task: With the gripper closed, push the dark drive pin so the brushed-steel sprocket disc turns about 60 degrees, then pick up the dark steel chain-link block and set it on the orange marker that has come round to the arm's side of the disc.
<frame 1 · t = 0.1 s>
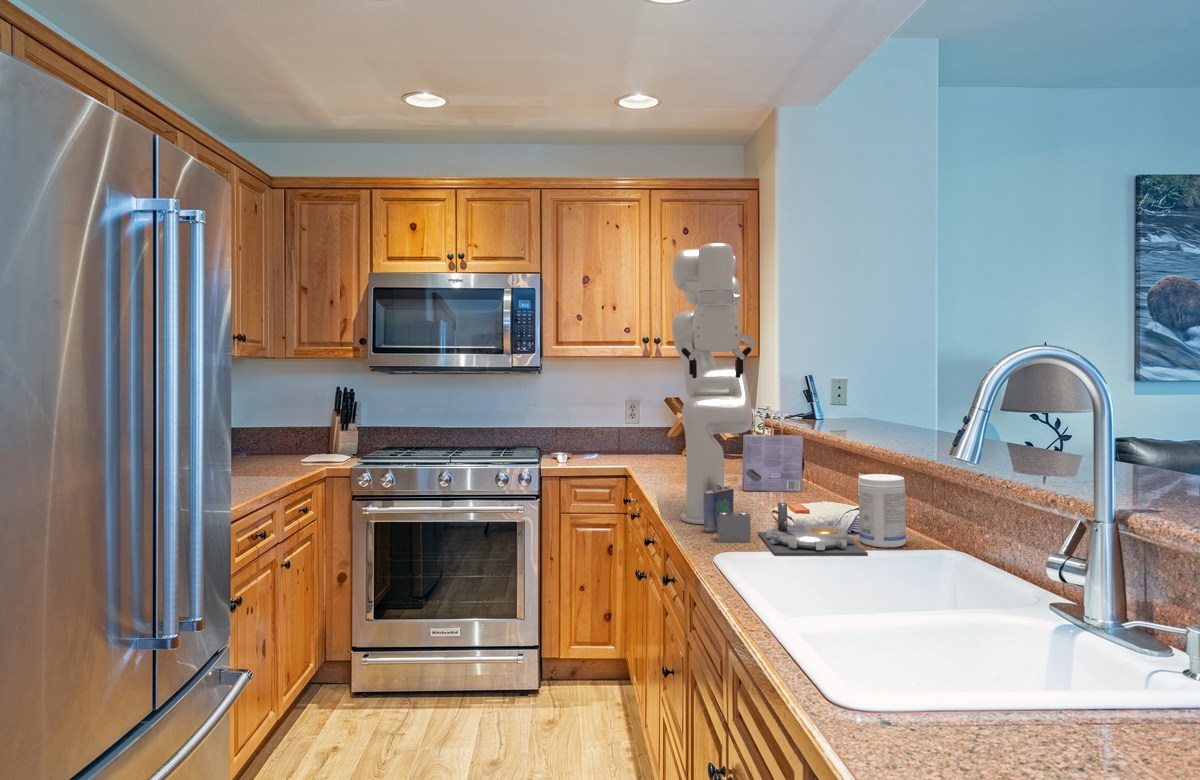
hand: (716, 377, 162), 37 cm above the counter, fingers open, 9 cm apart
cake pan box: (773, 491, 230), on the counter
flask: (718, 530, 176), on the counter
supplement tub: (882, 544, 161), on the counter
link: (733, 540, 165), on the counter
base mat: (809, 544, 161), on the counter
sprocket: (809, 522, 160), point 5 cm above the counter, hinge at 0.0°
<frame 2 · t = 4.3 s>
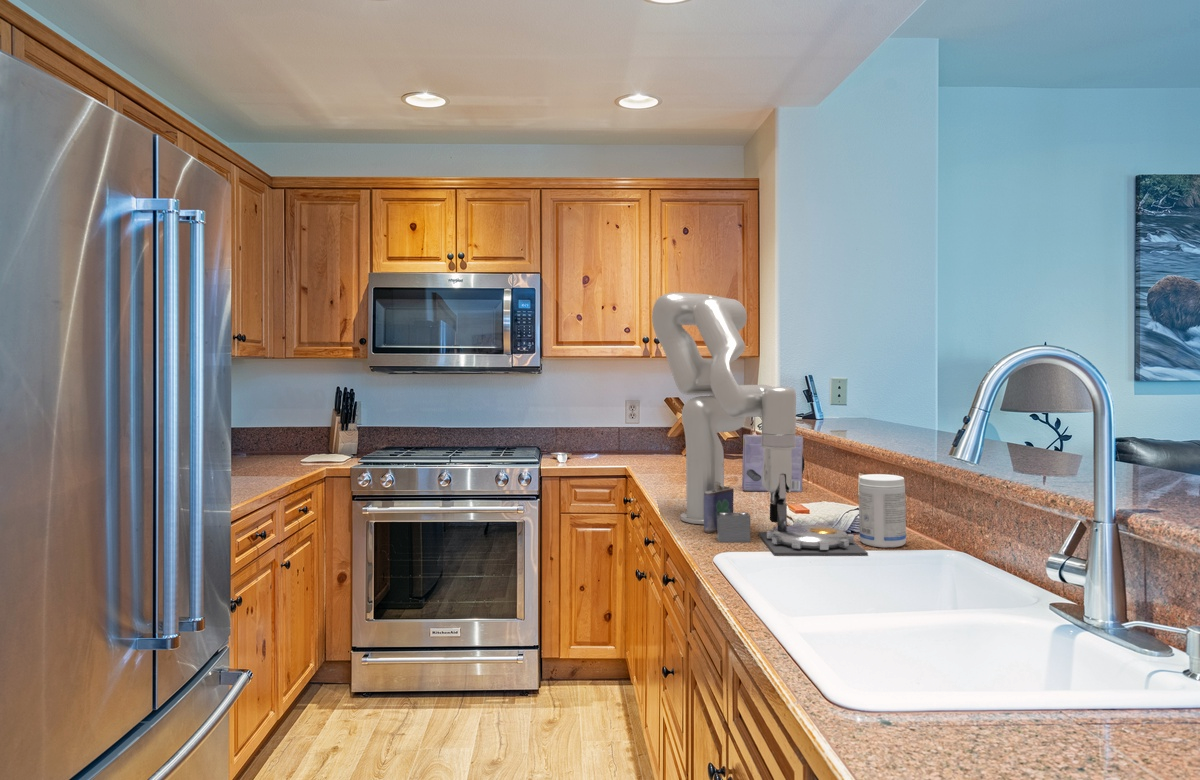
hand: (777, 521, 167), 4 cm above the counter, fingers closed
sprocket: (809, 522, 160), point 5 cm above the counter, hinge at 4.9°, touching gripper
everything else where it was.
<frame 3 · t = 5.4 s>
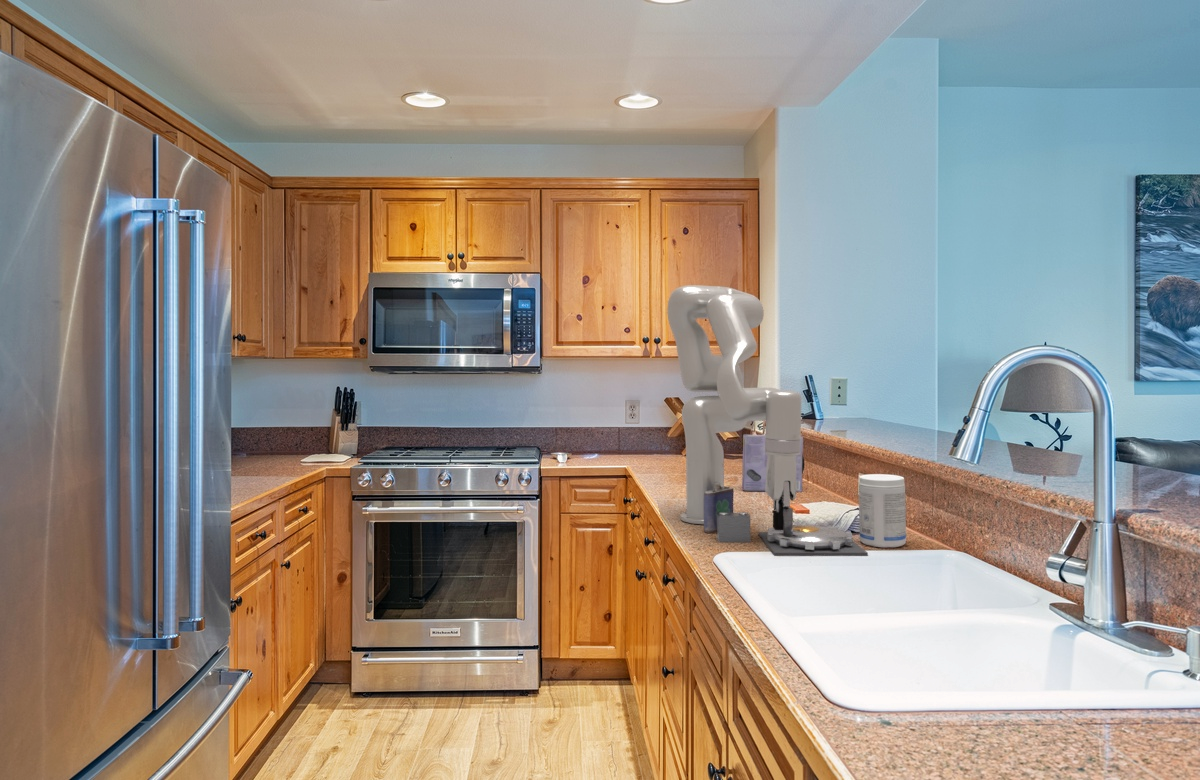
hand: (780, 529, 162), 3 cm above the counter, fingers closed
sprocket: (809, 522, 160), point 5 cm above the counter, hinge at 58.3°, touching gripper
everything else where it was.
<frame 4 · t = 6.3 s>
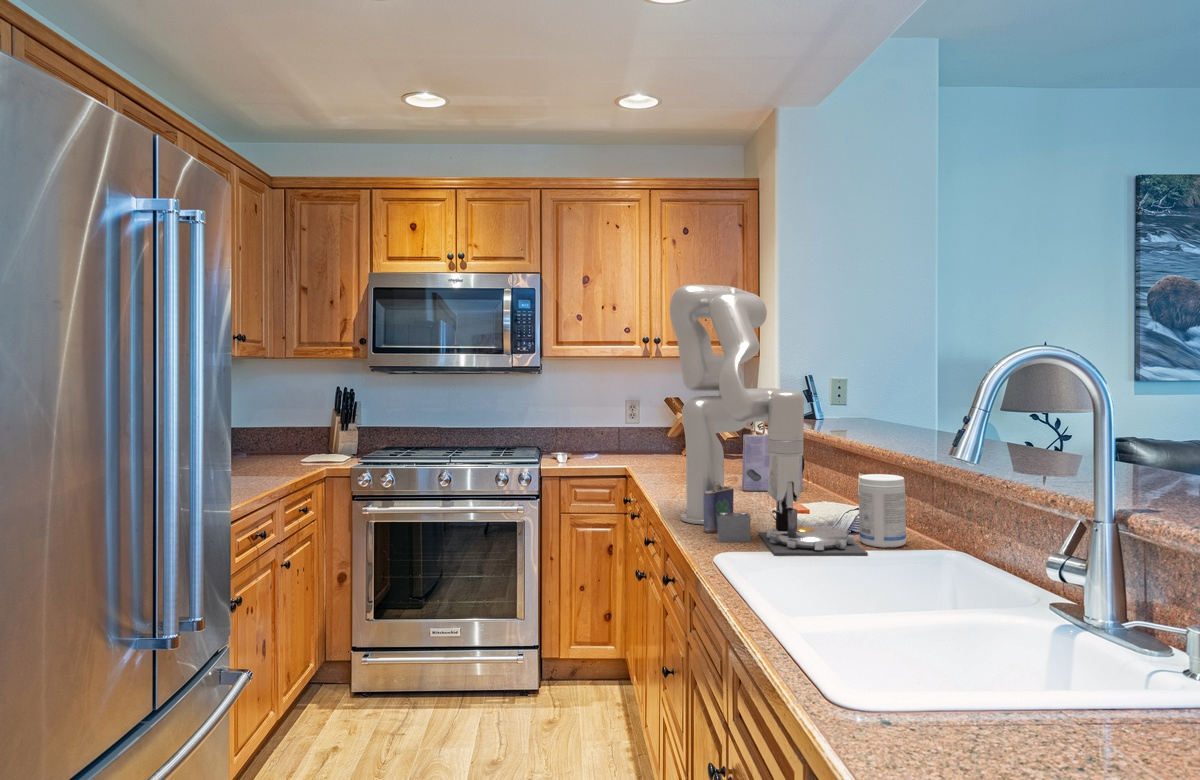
hand: (783, 530, 161), 3 cm above the counter, fingers closed
sprocket: (809, 522, 160), point 5 cm above the counter, hinge at 70.4°, touching gripper
everything else where it was.
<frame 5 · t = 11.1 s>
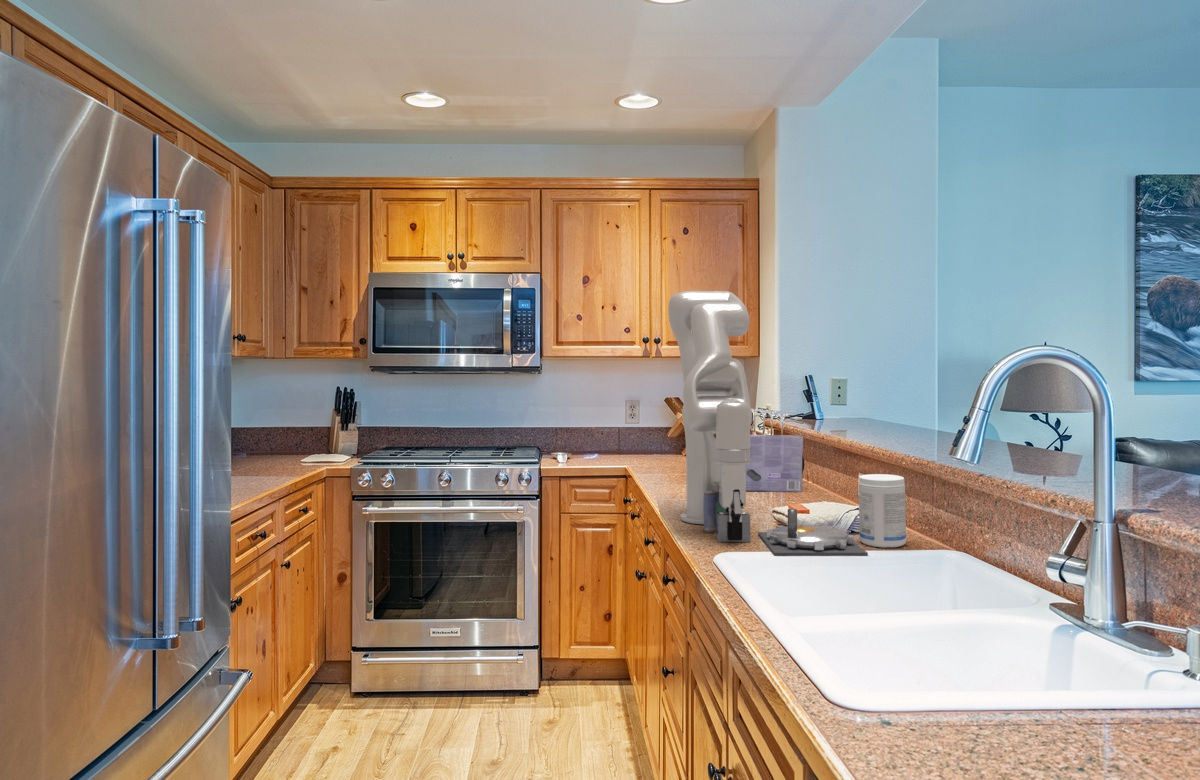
hand: (733, 536, 165), 1 cm above the counter, fingers closed on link, 3 cm apart
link: (733, 540, 165), on the counter, touching gripper
sprocket: (809, 522, 160), point 5 cm above the counter, hinge at 70.3°
everything else where it was.
when the fingers open (4 cm above the counter, at t = 16.0 s): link drops 1 cm, resting on sprocket.
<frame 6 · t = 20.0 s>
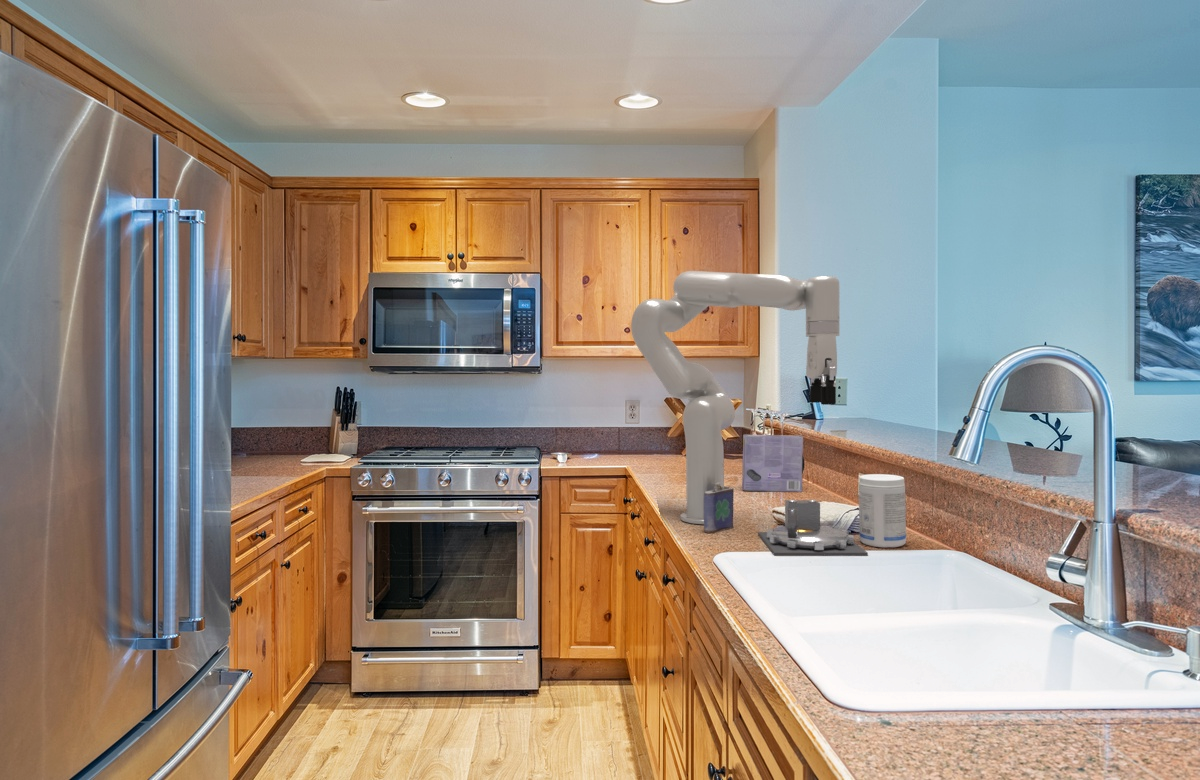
hand: (822, 403, 171), 30 cm above the counter, fingers open, 9 cm apart
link: (802, 528, 165), point 3 cm above the counter, touching sprocket
sprocket: (809, 522, 160), point 5 cm above the counter, hinge at 70.3°, touching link
everything else where it was.
at the end: sprocket at +70° (first picture: +0°); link inside the target area on the sprocket (0.5 cm from its centre), point 2.5 cm above the sprocket's base; the gripper is holding nothing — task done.
